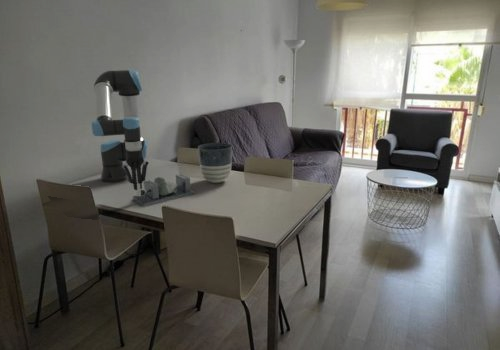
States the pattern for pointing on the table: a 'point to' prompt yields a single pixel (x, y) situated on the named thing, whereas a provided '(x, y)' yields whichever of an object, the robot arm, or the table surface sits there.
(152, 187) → the jaw
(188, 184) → the vise base
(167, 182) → the decorative stone
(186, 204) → the table surface
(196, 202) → the table surface
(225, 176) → the planter
